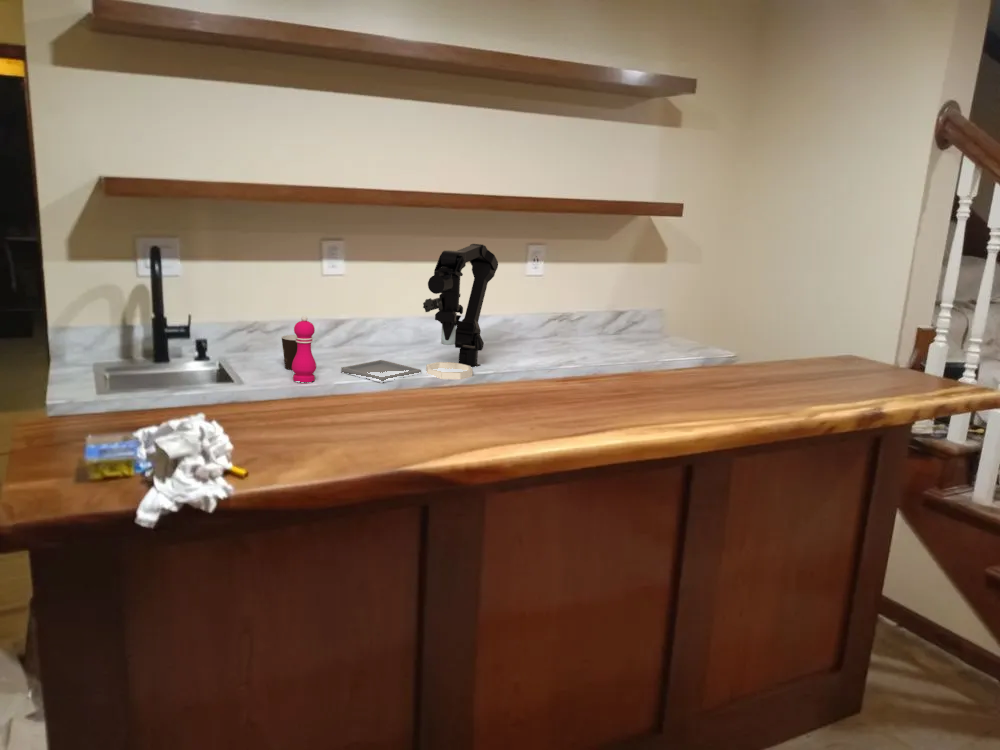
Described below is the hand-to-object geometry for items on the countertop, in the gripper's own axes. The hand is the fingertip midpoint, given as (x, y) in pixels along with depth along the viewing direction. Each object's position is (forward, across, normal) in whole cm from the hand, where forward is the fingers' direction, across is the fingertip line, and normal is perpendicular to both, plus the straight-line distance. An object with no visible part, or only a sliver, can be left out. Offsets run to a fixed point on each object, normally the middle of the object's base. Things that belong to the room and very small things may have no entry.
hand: (448, 338), depth 257 cm
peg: (+2, 0, 0) cm, 2 cm away
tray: (+12, +6, -20) cm, 24 cm away
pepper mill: (+12, +23, -40) cm, 48 cm away
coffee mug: (+12, +7, -48) cm, 50 cm away
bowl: (+12, 0, +1) cm, 12 cm away
